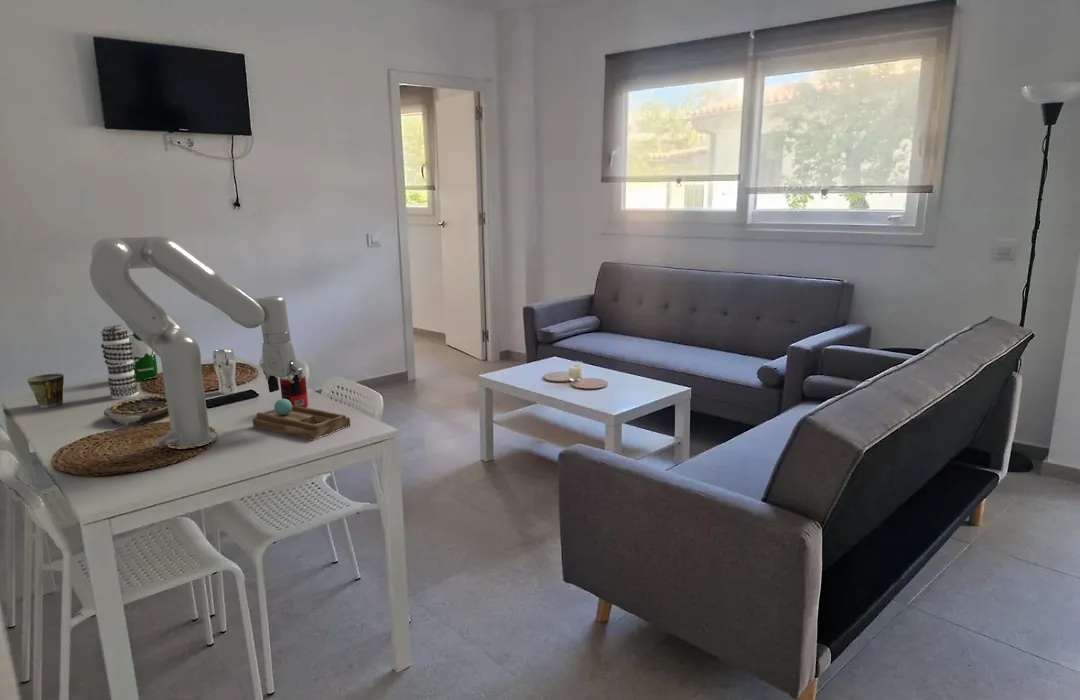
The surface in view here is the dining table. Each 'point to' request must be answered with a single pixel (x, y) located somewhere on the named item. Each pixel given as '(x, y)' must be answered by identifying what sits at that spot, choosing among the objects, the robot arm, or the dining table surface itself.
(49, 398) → the ceramic cup
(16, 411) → the dining table surface
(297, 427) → the track board
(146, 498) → the dining table surface
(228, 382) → the beer glass
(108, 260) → the robot arm
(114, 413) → the pie
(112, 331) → the decorative candle
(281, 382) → the canned food
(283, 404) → the ball
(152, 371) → the milk carton
